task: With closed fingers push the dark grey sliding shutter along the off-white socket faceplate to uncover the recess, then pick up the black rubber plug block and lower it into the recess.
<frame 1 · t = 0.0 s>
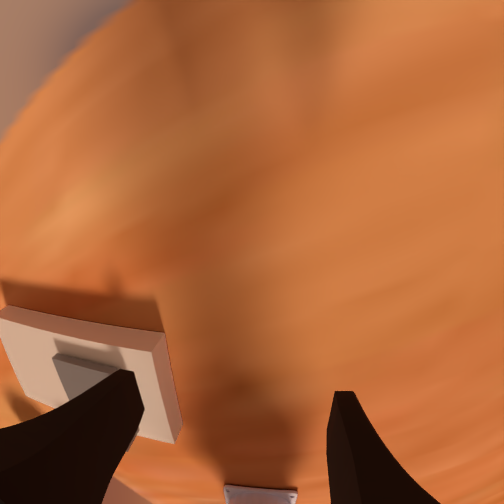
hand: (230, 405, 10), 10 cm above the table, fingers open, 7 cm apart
shutter: (90, 405, 20), point 4 cm above the table, slide at 0.0 cm
socket plate: (84, 365, 25), on the table
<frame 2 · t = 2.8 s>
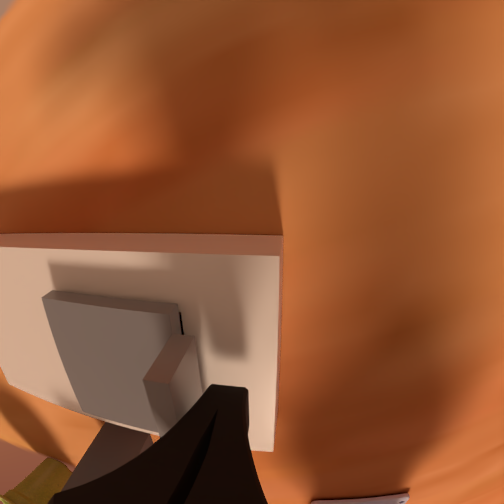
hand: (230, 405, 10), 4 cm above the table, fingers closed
shutter: (113, 389, 11), point 4 cm above the table, slide at 0.5 cm, touching gripper
socket plate: (106, 325, 15), on the table
plant pot: (69, 473, 24), on the table
plug: (134, 444, 19), on the table
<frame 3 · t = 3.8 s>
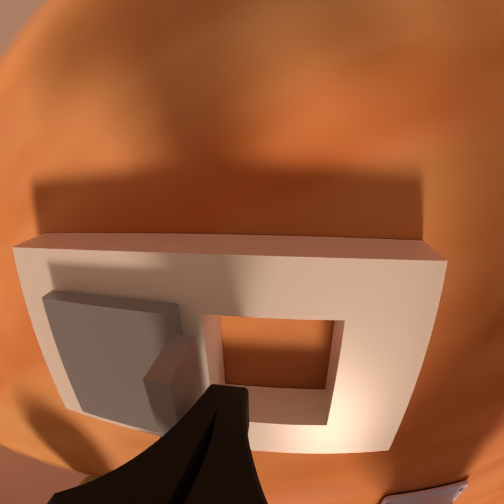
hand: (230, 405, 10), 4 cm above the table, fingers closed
shutter: (113, 389, 11), point 4 cm above the table, slide at 6.3 cm, touching gripper
socket plate: (211, 338, 14), on the table
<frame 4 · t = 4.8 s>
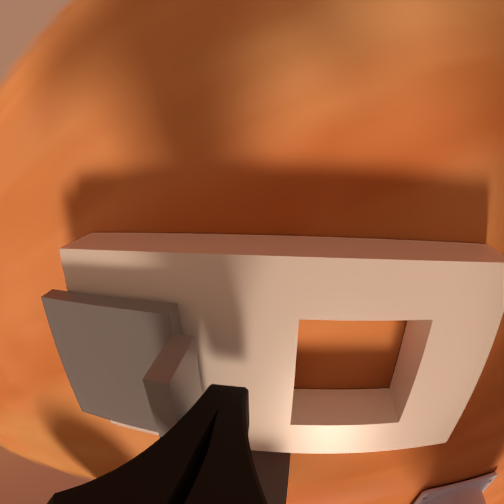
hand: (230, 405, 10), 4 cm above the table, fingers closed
shutter: (113, 389, 11), point 4 cm above the table, slide at 9.7 cm, touching gripper
socket plate: (284, 343, 14), on the table
plug: (261, 467, 17), on the table
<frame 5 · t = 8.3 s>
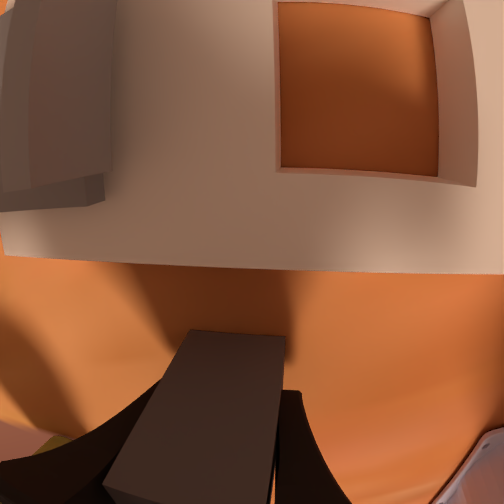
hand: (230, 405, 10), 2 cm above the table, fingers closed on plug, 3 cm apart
socket plate: (263, 78, 8), on the table
plug: (238, 375, 12), on the table, touching gripper
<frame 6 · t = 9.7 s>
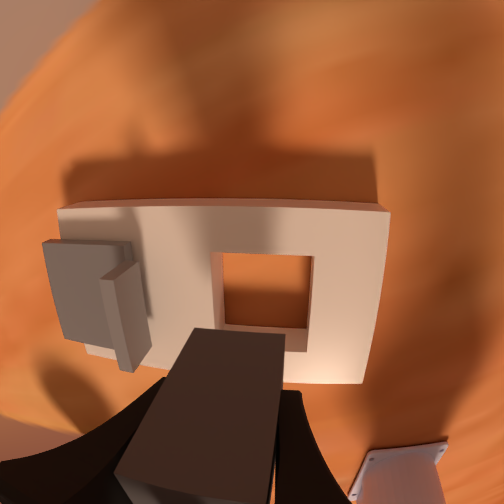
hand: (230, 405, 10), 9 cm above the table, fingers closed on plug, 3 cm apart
shutter: (85, 306, 15), point 4 cm above the table, slide at 9.7 cm
socket plate: (215, 283, 19), on the table
plug: (240, 371, 12), point 7 cm above the table, touching gripper
when the fingers open (3 cm above the table, at t = 11.5 s): plug drops 1 cm, resting in socket plate.
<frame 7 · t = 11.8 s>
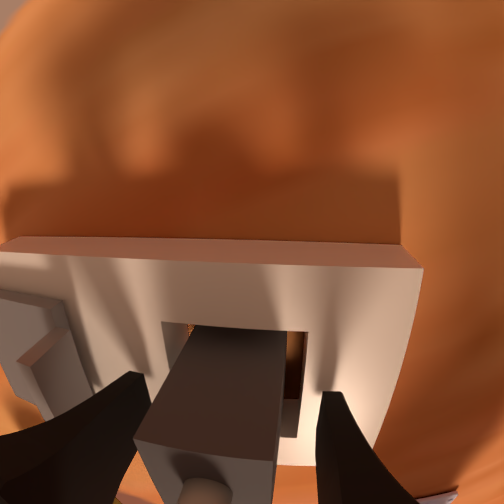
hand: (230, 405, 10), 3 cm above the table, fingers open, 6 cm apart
shutter: (22, 374, 11), point 4 cm above the table, slide at 9.7 cm
socket plate: (179, 345, 14), on the table
plug: (245, 353, 14), resting in socket plate
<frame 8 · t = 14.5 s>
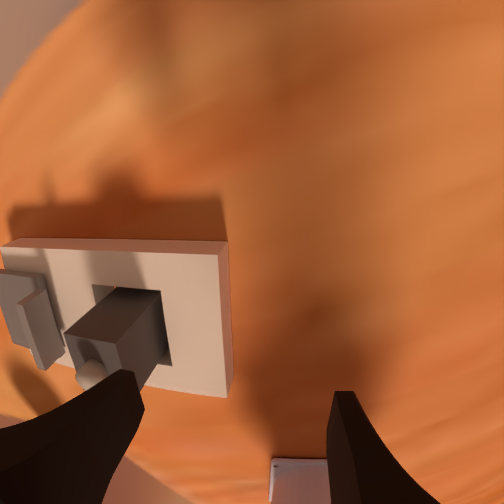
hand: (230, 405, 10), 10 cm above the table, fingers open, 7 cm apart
shutter: (18, 320, 18), point 4 cm above the table, slide at 9.7 cm
socket plate: (111, 304, 22), on the table
plug: (147, 310, 21), resting in socket plate
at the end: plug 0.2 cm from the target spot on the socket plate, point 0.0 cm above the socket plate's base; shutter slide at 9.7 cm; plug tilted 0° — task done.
